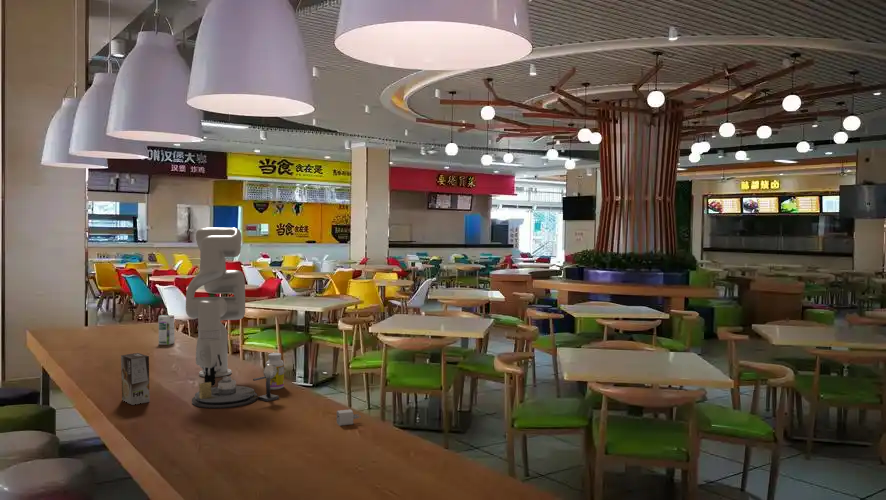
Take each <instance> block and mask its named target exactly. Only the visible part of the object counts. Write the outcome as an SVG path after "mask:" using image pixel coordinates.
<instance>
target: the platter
mask: <svg viewBox="0 0 886 500" xmlns="http://www.w3.org/2000/svg"><path fill="white" fill-rule="evenodd" d="M198 386H199V390H198V391H197V392H196V393H195V394H194V397H195V400H196V401H198V402H201V403H208V404H226V403H235V402H240V401H244V400H248V399H250V398H252V397H254V395H255V393H256V392H255V391H256V390H255V389H254V388H252V387H248V386H243V385H241V386H240V385H236V393H234V394H230V395H220V394H218V386H215V387H212V386H211V382H205V381H204V382H202V383H199V385H198Z"/></svg>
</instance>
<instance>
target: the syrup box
mask: <svg viewBox="0 0 886 500" xmlns="http://www.w3.org/2000/svg"><path fill="white" fill-rule="evenodd" d="M157 320H158V345H165V346H169V345H172V344H175V315H172V314H171V315H169V314H162V315H161V314H160V315H158V318H157Z"/></svg>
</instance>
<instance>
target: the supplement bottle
mask: <svg viewBox="0 0 886 500" xmlns="http://www.w3.org/2000/svg"><path fill="white" fill-rule="evenodd" d="M268 364H273V365H275V366H276V369H277V372H276V375H275V376H274V377H273V378H271V379H270V391H271V390H282V389H284V387H285V363H284V360H282V353H281V352H271V353H268V360H267V361H266V362H265V366H266V365H268Z"/></svg>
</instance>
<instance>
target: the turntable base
mask: <svg viewBox="0 0 886 500" xmlns="http://www.w3.org/2000/svg"><path fill="white" fill-rule="evenodd" d="M258 396H259V395H258V394H257V393H256V392H255V395H254V397H252V398H250V399H248V400H244V401H240V402H235V403H226V404H208V403H201V402H198V401H196V400H195V396H194V397H192V399H191V404H192V405H193V406H195V407H197V408H202V409H230V408H237V407H238V408H239V407H243V406H247V405H249V404H252V403H255V402H256V401H257V400H259V399H258Z"/></svg>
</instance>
